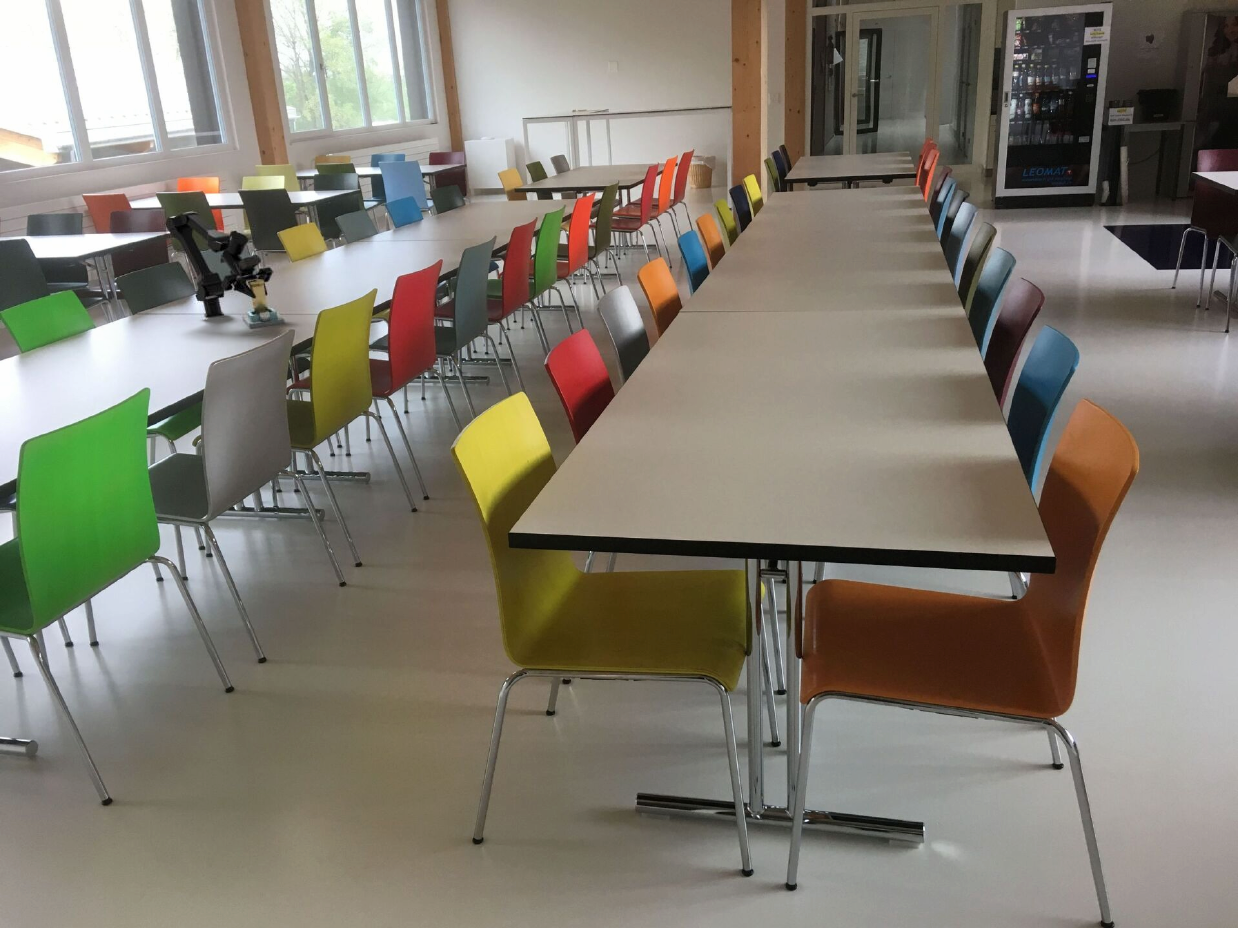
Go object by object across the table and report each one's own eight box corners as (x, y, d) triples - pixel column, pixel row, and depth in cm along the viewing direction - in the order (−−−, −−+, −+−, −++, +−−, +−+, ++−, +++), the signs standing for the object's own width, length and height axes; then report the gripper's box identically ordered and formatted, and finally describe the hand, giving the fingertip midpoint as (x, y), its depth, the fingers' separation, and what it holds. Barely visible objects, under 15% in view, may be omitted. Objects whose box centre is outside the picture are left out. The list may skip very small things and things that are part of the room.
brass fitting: (251, 316, 345) (245, 282, 341) (257, 312, 350) (251, 280, 346) (266, 315, 345) (260, 282, 340) (272, 312, 350) (265, 279, 345)
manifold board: (242, 319, 353) (240, 307, 352) (276, 314, 358) (274, 302, 357) (249, 328, 338) (247, 316, 337) (284, 323, 343) (282, 310, 342)
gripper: (219, 252, 334) (244, 286, 332) (265, 244, 348) (289, 276, 346) (210, 274, 341) (235, 307, 339) (256, 265, 355) (280, 296, 353)
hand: (260, 296), depth 344 cm, fingers closed on brass fitting, 5 cm apart
